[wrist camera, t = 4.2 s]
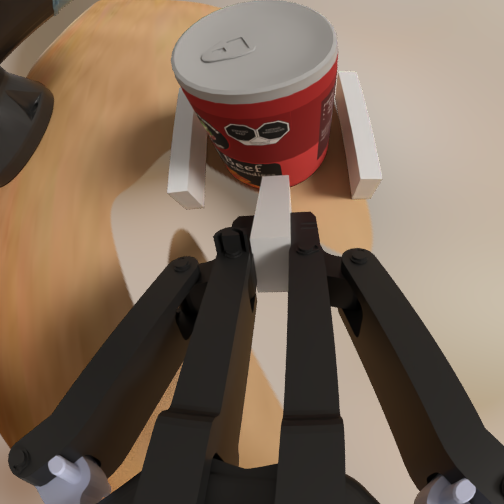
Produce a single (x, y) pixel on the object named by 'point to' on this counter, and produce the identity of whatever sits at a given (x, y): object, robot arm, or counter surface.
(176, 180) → the channel
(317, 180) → the counter surface
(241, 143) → the canned food
